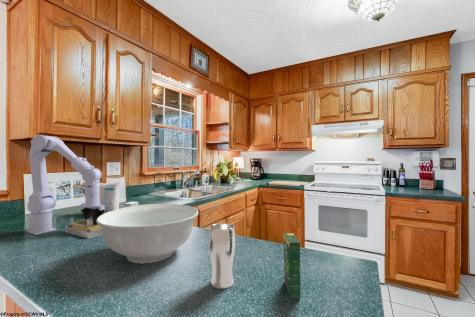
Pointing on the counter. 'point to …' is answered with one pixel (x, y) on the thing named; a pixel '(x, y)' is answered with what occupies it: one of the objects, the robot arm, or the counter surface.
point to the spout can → (90, 221)
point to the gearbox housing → (83, 229)
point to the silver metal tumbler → (222, 254)
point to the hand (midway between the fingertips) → (92, 224)
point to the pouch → (109, 196)
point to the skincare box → (130, 204)
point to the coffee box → (292, 265)
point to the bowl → (147, 230)
